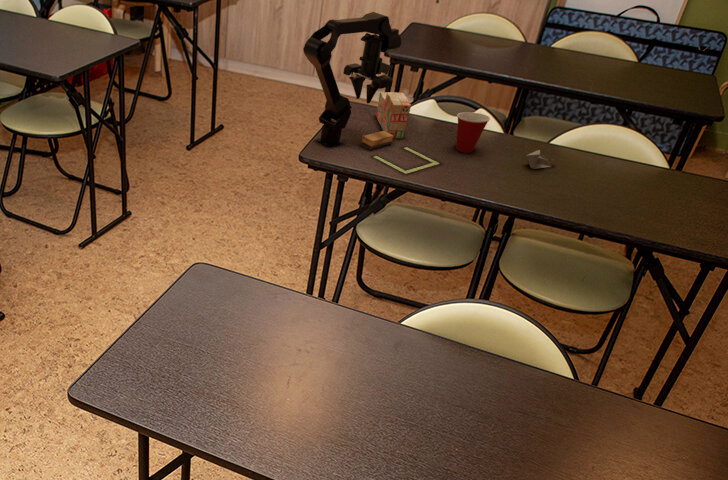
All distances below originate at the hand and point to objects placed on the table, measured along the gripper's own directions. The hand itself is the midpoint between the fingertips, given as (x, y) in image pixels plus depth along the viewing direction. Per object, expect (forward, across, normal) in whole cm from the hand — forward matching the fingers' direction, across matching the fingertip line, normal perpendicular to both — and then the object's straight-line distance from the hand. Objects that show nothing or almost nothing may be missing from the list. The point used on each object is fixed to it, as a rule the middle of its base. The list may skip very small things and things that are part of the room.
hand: (363, 100), depth 241 cm
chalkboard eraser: (+12, -10, 0) cm, 16 cm away
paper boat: (+13, -51, -34) cm, 63 cm away
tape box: (+12, -24, 0) cm, 27 cm away
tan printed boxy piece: (+13, 0, -16) cm, 20 cm away
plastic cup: (+13, -28, -25) cm, 40 cm away
